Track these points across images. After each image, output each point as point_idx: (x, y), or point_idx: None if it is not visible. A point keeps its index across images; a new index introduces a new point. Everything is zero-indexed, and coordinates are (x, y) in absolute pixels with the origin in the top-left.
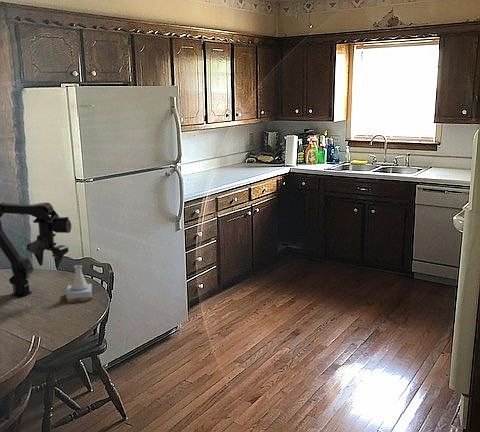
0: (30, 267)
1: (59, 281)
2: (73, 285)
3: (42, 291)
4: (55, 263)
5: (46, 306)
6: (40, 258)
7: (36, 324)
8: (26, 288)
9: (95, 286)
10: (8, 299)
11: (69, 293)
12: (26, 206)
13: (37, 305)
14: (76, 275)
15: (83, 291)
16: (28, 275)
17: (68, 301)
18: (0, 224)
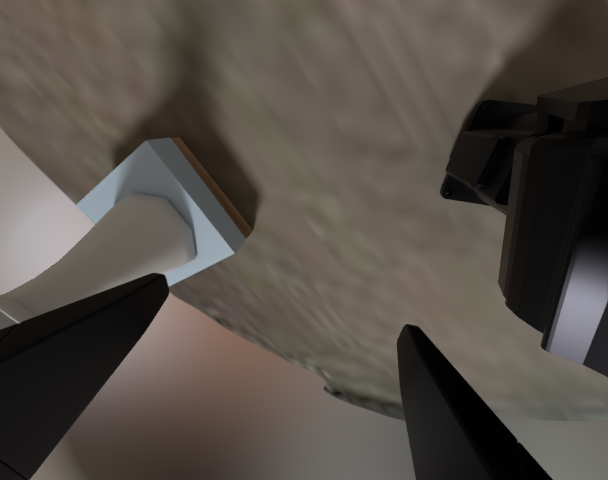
0: (552, 297)
1: (377, 332)
2: (135, 211)
3: (390, 226)
4: (79, 311)
5: (228, 26)
6: (437, 447)
7: None
8: (472, 152)
9: (215, 310)
10: (573, 30)
11: (136, 150)
12: None
13: (290, 15)
14: (70, 257)
15: (101, 196)
16: (509, 197)
17: (174, 139)
18: None
